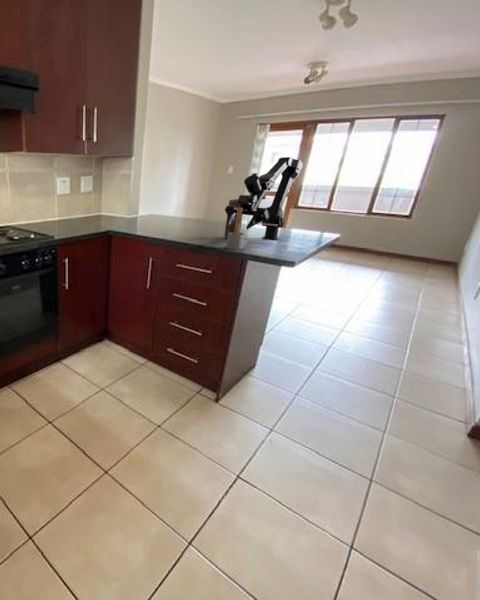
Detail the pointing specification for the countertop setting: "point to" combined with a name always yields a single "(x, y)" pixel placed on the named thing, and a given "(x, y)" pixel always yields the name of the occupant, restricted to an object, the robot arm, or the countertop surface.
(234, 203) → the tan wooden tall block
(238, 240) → the grey cube
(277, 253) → the countertop surface
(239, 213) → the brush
